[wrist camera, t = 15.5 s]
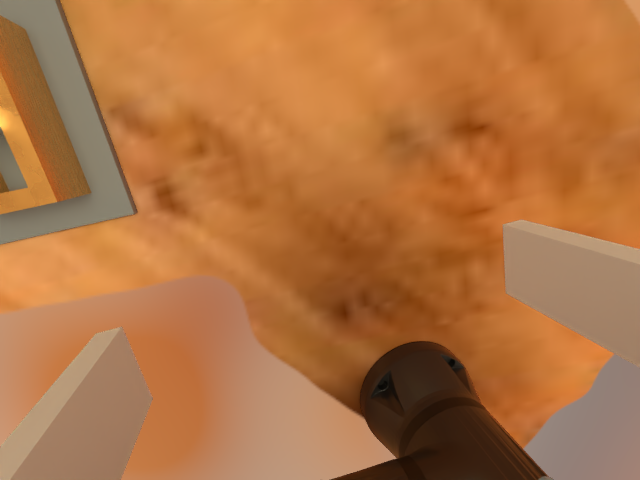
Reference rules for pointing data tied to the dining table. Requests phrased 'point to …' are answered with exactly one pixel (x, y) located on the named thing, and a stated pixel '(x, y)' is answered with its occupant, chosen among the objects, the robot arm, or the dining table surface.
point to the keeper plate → (81, 125)
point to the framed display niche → (33, 128)
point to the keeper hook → (1, 133)
